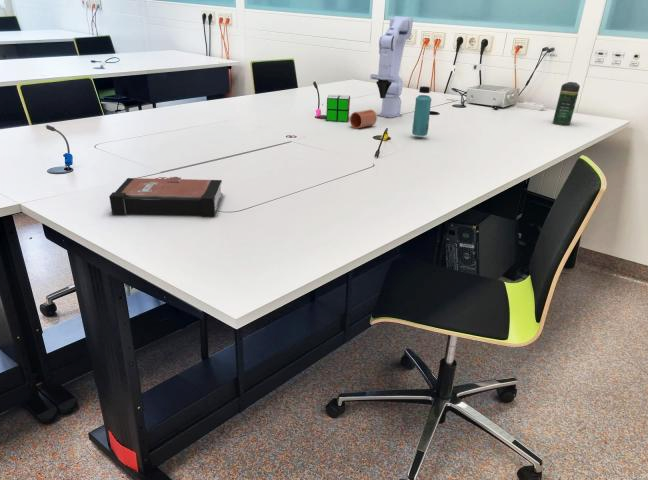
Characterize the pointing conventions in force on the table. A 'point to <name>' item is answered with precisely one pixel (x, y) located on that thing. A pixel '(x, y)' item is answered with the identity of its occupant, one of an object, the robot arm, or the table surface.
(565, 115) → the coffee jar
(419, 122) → the beverage bottle
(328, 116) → the puzzle cube
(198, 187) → the book
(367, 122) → the cup
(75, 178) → the table surface
